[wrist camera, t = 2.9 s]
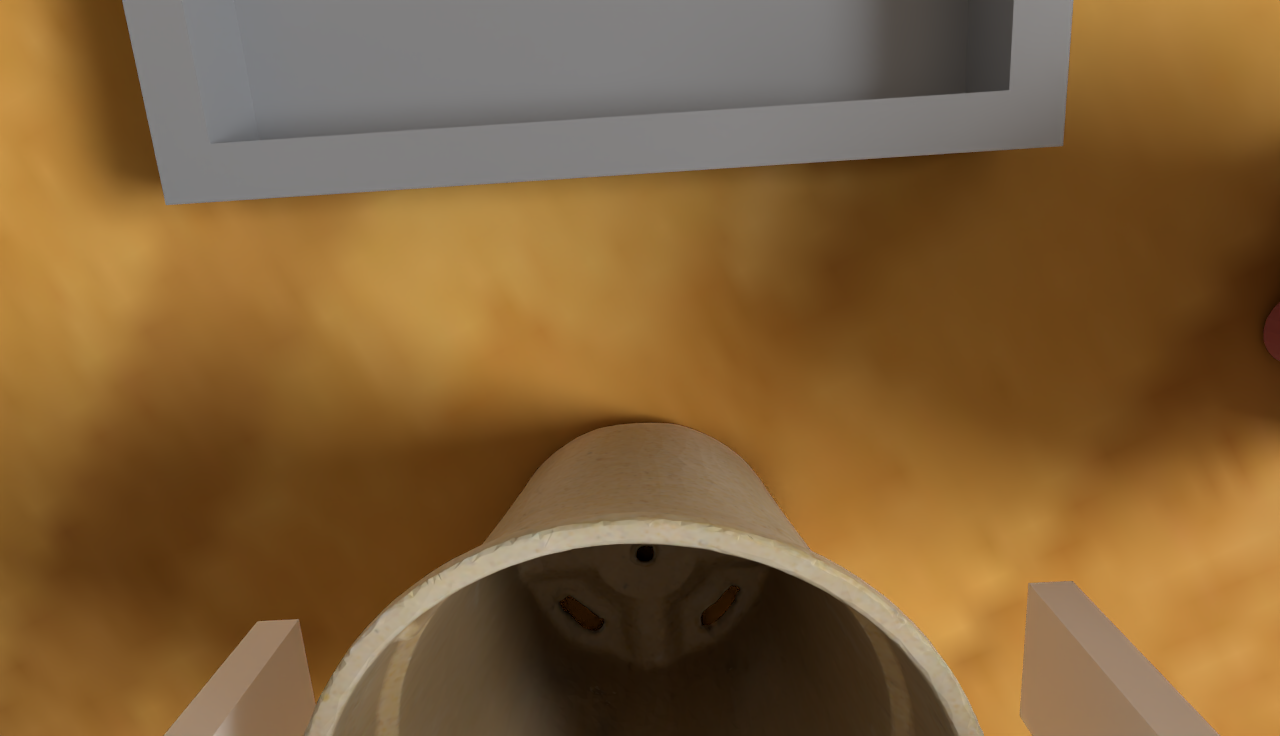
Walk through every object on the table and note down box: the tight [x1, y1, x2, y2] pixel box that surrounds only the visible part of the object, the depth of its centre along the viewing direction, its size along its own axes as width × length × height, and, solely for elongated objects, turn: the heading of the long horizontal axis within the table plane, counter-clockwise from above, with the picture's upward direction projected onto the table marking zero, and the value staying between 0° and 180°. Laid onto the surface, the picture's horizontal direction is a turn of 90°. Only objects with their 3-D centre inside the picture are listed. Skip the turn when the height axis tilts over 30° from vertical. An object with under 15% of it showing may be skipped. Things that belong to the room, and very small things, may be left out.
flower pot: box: [304, 423, 984, 736], centre depth 15 cm, size 9×9×9 cm
